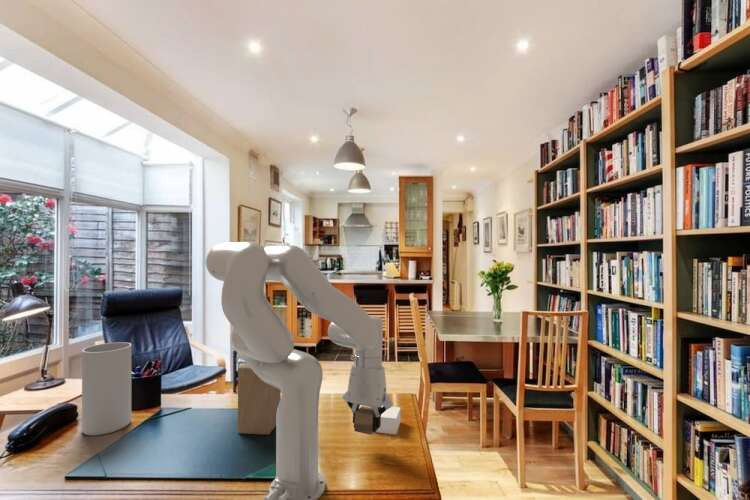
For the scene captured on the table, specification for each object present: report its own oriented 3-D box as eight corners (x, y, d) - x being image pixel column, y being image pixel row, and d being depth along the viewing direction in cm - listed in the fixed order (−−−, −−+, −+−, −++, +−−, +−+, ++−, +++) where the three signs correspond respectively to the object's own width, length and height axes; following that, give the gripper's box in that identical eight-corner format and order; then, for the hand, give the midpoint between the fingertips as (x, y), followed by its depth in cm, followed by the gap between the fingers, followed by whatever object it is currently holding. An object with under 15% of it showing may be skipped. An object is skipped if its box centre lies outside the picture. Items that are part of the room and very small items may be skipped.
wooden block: (281, 420, 119) (281, 358, 119) (269, 435, 109) (269, 368, 109) (251, 418, 120) (251, 358, 120) (237, 433, 110) (237, 367, 110)
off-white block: (396, 435, 109) (396, 418, 109) (370, 432, 111) (370, 415, 111) (400, 423, 117) (400, 407, 117) (376, 420, 119) (376, 405, 119)
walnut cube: (371, 434, 97) (372, 415, 97) (354, 431, 99) (355, 412, 99) (378, 427, 102) (378, 409, 102) (361, 423, 103) (362, 406, 104)
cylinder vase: (112, 436, 108) (112, 352, 108) (70, 436, 108) (71, 352, 108) (140, 417, 120) (140, 342, 120) (103, 417, 121) (103, 342, 121)
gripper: (334, 360, 100) (332, 427, 100) (393, 368, 94) (391, 440, 94) (346, 354, 107) (344, 417, 107) (401, 361, 101) (399, 428, 101)
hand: (366, 427), depth 100 cm, fingers closed on walnut cube, 4 cm apart
